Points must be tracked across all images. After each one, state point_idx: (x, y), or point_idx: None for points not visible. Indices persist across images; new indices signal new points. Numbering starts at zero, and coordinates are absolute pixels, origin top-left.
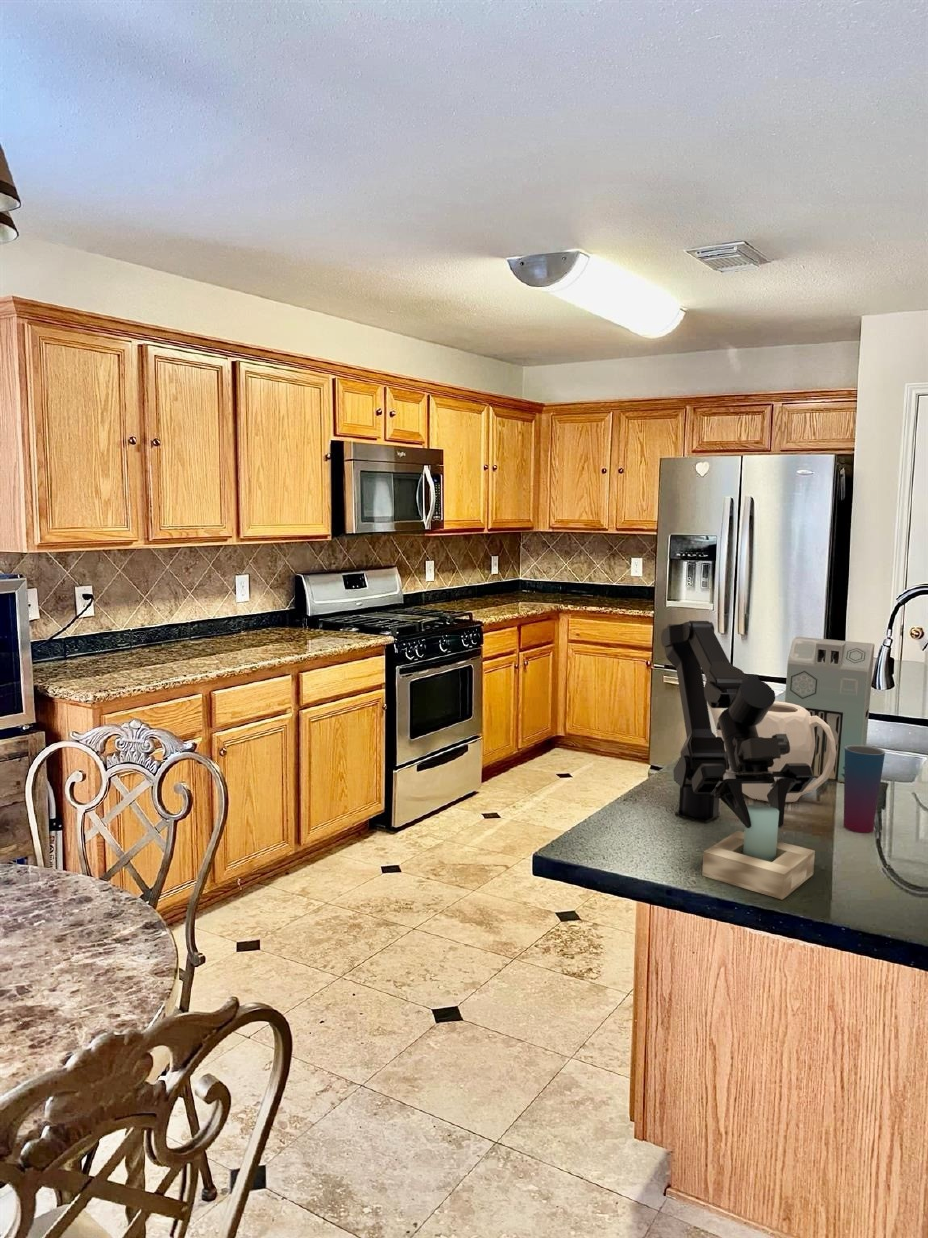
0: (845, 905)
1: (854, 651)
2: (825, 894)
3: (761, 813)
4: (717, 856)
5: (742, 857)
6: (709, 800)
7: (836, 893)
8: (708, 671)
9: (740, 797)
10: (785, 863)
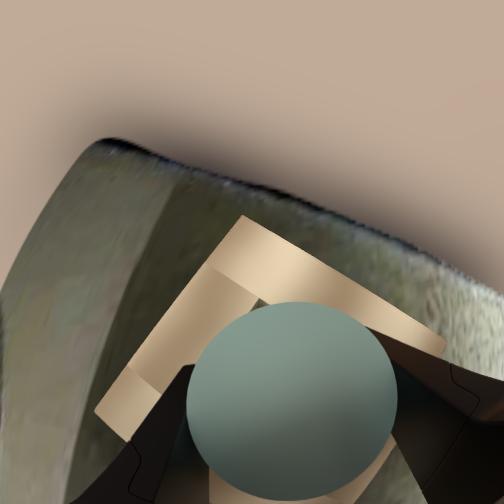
0: (119, 243)
1: None
2: (135, 293)
3: (320, 320)
4: (414, 320)
5: None
6: None
7: (110, 301)
8: None
9: (470, 392)
10: (215, 294)
